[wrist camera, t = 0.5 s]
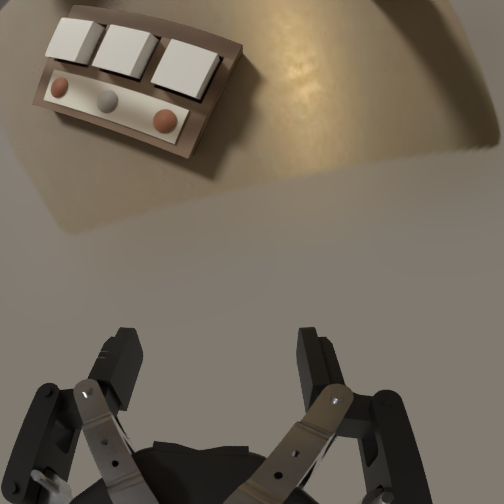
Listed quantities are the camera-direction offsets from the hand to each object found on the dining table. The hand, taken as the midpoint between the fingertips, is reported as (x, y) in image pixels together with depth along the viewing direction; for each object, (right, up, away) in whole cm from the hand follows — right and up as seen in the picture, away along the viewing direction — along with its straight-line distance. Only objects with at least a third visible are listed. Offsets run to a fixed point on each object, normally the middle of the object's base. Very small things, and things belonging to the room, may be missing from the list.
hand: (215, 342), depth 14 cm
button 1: (-5, +24, +14) cm, 28 cm away
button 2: (-12, +26, +12) cm, 31 cm away
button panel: (-13, +26, +16) cm, 33 cm away
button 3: (-19, +29, +10) cm, 36 cm away
